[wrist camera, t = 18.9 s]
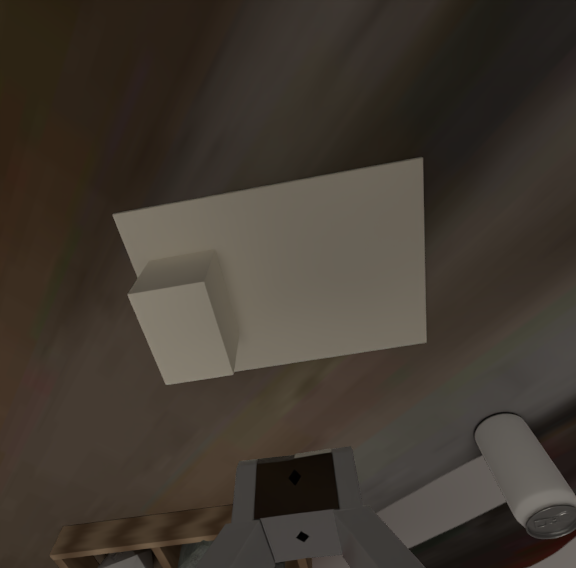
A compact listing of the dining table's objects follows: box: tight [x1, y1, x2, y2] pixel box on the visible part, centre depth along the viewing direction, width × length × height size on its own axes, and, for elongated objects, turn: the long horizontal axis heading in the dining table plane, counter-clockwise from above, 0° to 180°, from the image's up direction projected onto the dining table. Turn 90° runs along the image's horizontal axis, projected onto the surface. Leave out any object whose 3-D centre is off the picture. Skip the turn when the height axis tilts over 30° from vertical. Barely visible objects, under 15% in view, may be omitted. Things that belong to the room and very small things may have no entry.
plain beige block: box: [127, 249, 239, 385], centre depth 39 cm, size 6×10×6 cm, turn 10°
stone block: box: [178, 540, 285, 568], centre depth 60 cm, size 9×14×5 cm, turn 57°
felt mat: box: [113, 157, 427, 372], centre depth 41 cm, size 28×20×1 cm
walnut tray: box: [49, 505, 312, 568], centre depth 61 cm, size 35×16×4 cm, turn 100°
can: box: [475, 413, 576, 539], centre depth 47 cm, size 6×6×12 cm
